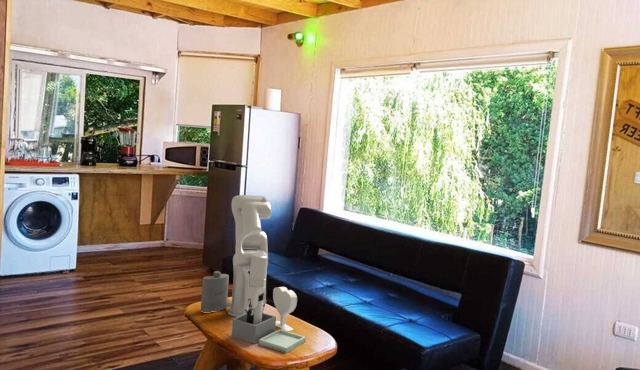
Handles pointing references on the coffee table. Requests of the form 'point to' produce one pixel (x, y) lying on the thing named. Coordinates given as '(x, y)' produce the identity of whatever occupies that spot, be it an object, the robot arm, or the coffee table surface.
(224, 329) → the coffee table surface
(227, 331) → the coffee table surface
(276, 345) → the tray
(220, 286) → the flask
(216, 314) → the coffee table surface
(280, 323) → the heart sculpture
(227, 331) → the coffee table surface
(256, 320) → the travel mug
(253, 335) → the deep bin
